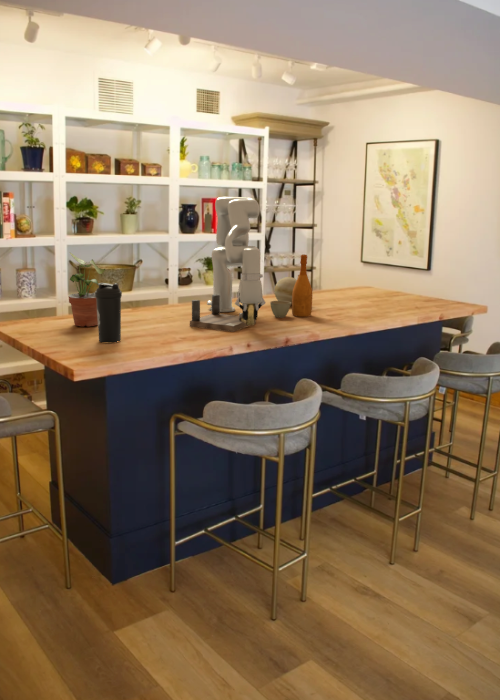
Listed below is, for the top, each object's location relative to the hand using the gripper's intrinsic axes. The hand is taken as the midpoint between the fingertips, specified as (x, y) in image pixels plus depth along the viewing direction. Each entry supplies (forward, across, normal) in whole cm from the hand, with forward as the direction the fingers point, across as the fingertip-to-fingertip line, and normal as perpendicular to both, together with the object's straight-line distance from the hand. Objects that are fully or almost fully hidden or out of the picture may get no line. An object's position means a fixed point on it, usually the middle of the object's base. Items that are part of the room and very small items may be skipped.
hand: (249, 319), depth 283 cm
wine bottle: (+6, -36, -28) cm, 46 cm away
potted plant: (+6, +66, -28) cm, 72 cm away
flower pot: (+6, -25, -28) cm, 38 cm away
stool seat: (+5, +7, -16) cm, 18 cm away
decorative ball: (+6, -42, -59) cm, 72 cm away
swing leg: (+2, 0, -5) cm, 5 cm away
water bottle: (+5, +60, +5) cm, 61 cm away
